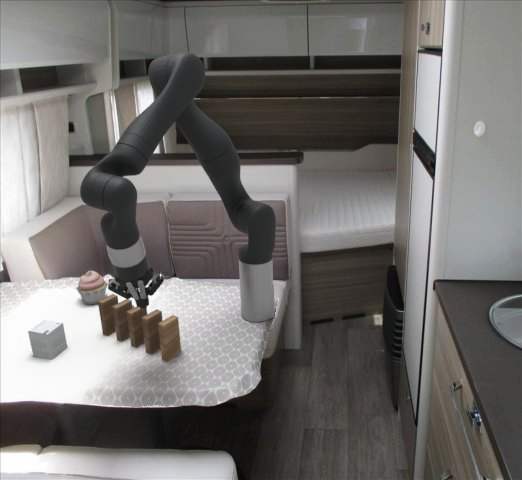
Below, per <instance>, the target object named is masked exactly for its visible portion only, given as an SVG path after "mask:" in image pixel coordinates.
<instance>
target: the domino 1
mask: <svg viewBox="0 0 522 480" xmlns="http://www.w3.org/2000/svg"><path fill="white" fill-rule="evenodd" d="M118 296H119V295H118V294H116V293H112V294H109V295H108V296H105V298H103V299H101V300H99V301H98V303H97V305H98V311H99V318H100V324H101V330H102V335H103V336H106V337H109V336H110V335H112V334H114V333H116V330H115V324H114V317H113V310H112V306H114V305H116V304H118V303H119V297H118Z"/></svg>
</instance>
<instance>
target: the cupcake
mask: <svg viewBox="0 0 522 480" xmlns="http://www.w3.org/2000/svg"><path fill="white" fill-rule="evenodd" d="M75 289H76V290H77V293H78V294H79V295H80V297H81V300H82V301H83V303H84V304H86V305H96V304H97V305H98V301H99V300H101V299H103V298H105V297H106V291H107V289H108V282H107V281H106V280H105V279H104V277H103V276H102V275H100V274H99V272H96V271H95V270H88V271H87V272H85V274H83V275H81V276H80V278H79V281H78V284H77V287H75Z"/></svg>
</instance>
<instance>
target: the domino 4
mask: <svg viewBox="0 0 522 480" xmlns="http://www.w3.org/2000/svg"><path fill="white" fill-rule="evenodd" d="M162 321H163V312H162V310H159V309H154V310H153V311H151V312H149V313H147V315H145V316H144V317H142V325H143V333H144V341H145V343H144V348H145V353H146V354H148V355H150V356H152V355H153V354H155V353H156V352H158V351H159V350H161V346H160V337H159V328H158V323H160V322H162Z"/></svg>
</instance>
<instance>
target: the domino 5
mask: <svg viewBox="0 0 522 480" xmlns="http://www.w3.org/2000/svg"><path fill="white" fill-rule="evenodd" d="M162 320H163V319H162ZM158 328H159V337H160V346H161V349H160V353H161V354H160V356H161V360H163V361H165V362H169V361H170V360H172V359H173V358H175V357H176V356H178V355H179V354H181V353H182V347H181V346H182V344H181V335H180V334H181V333H180V325H179V317H178V316H177V315H174V314H172V315H170V316H169V317H166V318H165V319H164V320H163V321H162V322H160V323H158Z"/></svg>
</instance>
